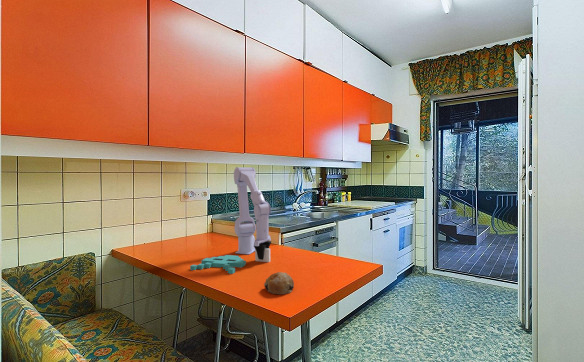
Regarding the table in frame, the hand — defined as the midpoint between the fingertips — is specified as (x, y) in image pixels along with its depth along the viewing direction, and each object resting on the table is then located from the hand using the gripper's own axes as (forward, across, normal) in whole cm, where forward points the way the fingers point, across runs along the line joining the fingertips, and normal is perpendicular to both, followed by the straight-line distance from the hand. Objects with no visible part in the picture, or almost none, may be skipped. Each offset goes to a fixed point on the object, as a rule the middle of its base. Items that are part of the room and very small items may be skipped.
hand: (262, 258), depth 149 cm
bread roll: (+2, -31, -20) cm, 37 cm away
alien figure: (+2, -11, +15) cm, 19 cm away
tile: (+2, 0, 0) cm, 2 cm away
